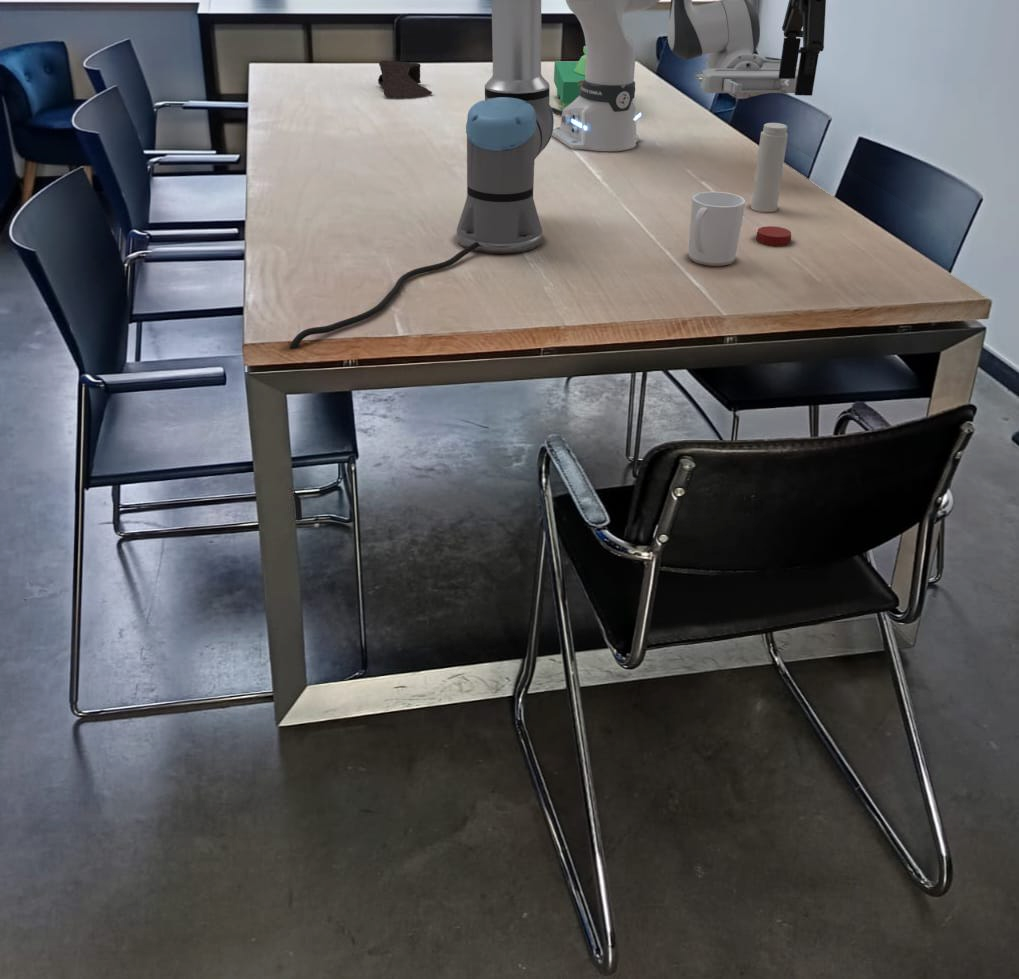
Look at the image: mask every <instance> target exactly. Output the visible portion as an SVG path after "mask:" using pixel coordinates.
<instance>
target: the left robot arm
mask: <svg viewBox="0 0 1019 979" xmlns="http://www.w3.org/2000/svg"><path fill="white" fill-rule="evenodd" d="M786 7H787V8H786V11H785V15H784V20H783V24H782V26H781V30H782V32H783V43H782V50H781V57H780V59H781V63H780V70H779V77H778V78H782V79H795V74H796V69H797V68H798V69H797V70H798V75H797V82H796V88H795V93H794V95H795V96H804V97H805V96H810V97H812V96H813V92H814V85H815V79H816V74H817V67H818V61H819V55H820V53H821V52H824V49H825V29H826V28H825V27H826V7H827V0H788V4H787V6H786ZM491 36H492V37H491V42H492V43H491V44H492V47H491V48H492V75H491V77H490V78H489V79H488V81H486V83H485V84H484V100H480V101H477V102H475V103H474V104H473V105H472V106H471V107H470V108H469V109H468V111H467V119H466V123H465V130H466V131H465V133H466V192H467V193H466V198H465V202H464V205H463V209H462V211H461V214H460V218H459V220H458V224H457V227H456V241H457V243H458V244H459V245H461V246H462V247H464V249H462V250H460V251H459V252H458V253H456V254H455V255H454V256H452V257H451V258H449V259H447V260H445V261H442V262H438V263H434V264H431V265H426V266H422V267H421V266H420V267H417V268H414V269H412V270H409V271H407V272H406V273H403V274H402V275H401V276H400V277H399V278H398V279H397V281H396V283H395V284H394V286H393V288H392V289H390V291H389V292H388V293H387V294H386V295H385V297H383V299H382V300H381V301H380V302H379V303H378V304H377V305H375V306H374V307H372V308H371V309H369V310H367V311H365V312H362V313H360V314H357V315H355V316H352V317H349V318H346V319H343V320H339V321H337V322H334V323H332V324H328V325H323V326H315V327H309V328H306V329H304V330H302V331H300V332H299V333H298V334H296V336H294V338H293V339H292V341H291V342H290V344H289V347H288V349H290V350H294V349H297V348H298V346H299V344H300V343H301V342H302V341H303V340H304V339H305V338H306V337H309V336H313V335H320V334H328V333H331V332H334V331H336V330H340V329H342V328H345V327H348V326H351V325H354V324H358V323H360V322H362V321H365V320H367V319H369V318H371V317H373V316H374V315H376V314H378V313H379V312H381V311H382V310H383V309H385V308H386V307H387V305H389V304H390V302H391V301H392V300H393V298H395V296H396V295H397V294H398V293H399V291H400V290H401V288H402V286H403V285H404V283H405V282H406V281H408V280H409V279H411V278H412V277H415V276H417V275H421V274H425V273H429V272H430V273H431V272H434V271H439V270H442V269H445V268H447V267H450V266H452V265H454V264H456V263H457V262H458V261H459V260H461V259H462V258H463V257H465V256H467V255H468V254H469V253H471V252H472V251H475V252H479V253H486V254H497V255H499V254H500V255H506V254H507V255H508V254H517V253H524V252H527V251H530V250H533V249H536V248H538V247H539V246H540V245H541V244H542V243H543V229H542V224H541V221H540V220H541V219H540V218H539V214H538V213H539V212H538V210H537V206H536V204H535V199H534V183H535V181H534V180H535V160H536V159H537V158H538V157H539V155H540V154H541V153H542V152H543V151H544V149H546V147H547V146H548V144H549V143H550V141H551V138H552V132H553V129H554V128H555V126H554V124H555V121H554V118H555V117H554V112H552V109H551V107H552V106H551V103H550V83H549V81H547V79H545V77H543V75H542V0H491ZM801 38H802V46H801ZM799 54H800V56H799ZM798 60H799V61H798ZM292 491H293V500H294V511H295V521H298V522H300V521H302V520H303V511H302V510H303V509H302V498H301V497H300V496H299V495H298V493H297V492H296V491H295V489H293V490H292Z"/></svg>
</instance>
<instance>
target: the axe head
mask: <svg viewBox="0 0 1019 979" xmlns="http://www.w3.org/2000/svg"><path fill="white" fill-rule="evenodd" d="M378 66H379V68H380V72H381V74H379V75H378V79H377V84H378V85H379V86H380V87H381V88H382V89H383V95H384V96H385V97H388V98H394V99H395V98H396V99H403V98H405V99H406V98H407V99H411V98H418V97H425V96H429V95H432V94H433V91H431V90H430V89H428V88H427V87H425V86H422V85H421V84H422V82H421V63H419V62H410V61H408V62H407V61H397V60H388V59H387V60H380V61H379V62H378Z"/></svg>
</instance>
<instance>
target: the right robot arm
mask: <svg viewBox="0 0 1019 979" xmlns="http://www.w3.org/2000/svg"><path fill="white" fill-rule="evenodd" d="M660 1H661V0H565V2H566V5H567V8H568V9H569V10H570V11H571V12H572V13H573V14H574V15H575V17H576V18H577V20H578V21H579V23H580V26H581V29H582V31H583V37H584V43H585V46H586V70H585V79H584V80H583V81H578V82H583V83H582V84H579V85H578V86H581V90H580V93H579V95H580V96H579V97H577V98H576V99H575V100H574V101H573V102H572V103H571V104H569V105H568V106H567V107H566V108H564V110H563V111H562V109H558V108H555V107H553V106H551V109H552V112H553V113H556V114H557V115H560V116H561V118H560V126H559V127H554V128H553V132H552V135H551V137H554V138H555V139H556V140H558V141H559V142H561V143H562V144H564V145H565V146H567V147H569V149H574V150H588V151H597V152H619V151H627V150H631V149H634V148H635V147H637V143H638V142H639V141H640V135H639V134H637V120H638V119H639V118H640V117H642V112H639V113H638V114H637V105H636V104H635V103H634V101H633V100H634V99H635V94H636V81H635V67H636V53H637V47H636V44H635V42H634V40H633V39H632V38H630V37H629V36H628V35H627V34H626V31H625V28H624V23H623V15H629V14H637V13H641V12H644V11H645V10H648V9H650V8H652V7H654V6H656V5H658V4H659V2H660ZM760 27H761V25H760V19H759V15H758V12H757V10H756V8H755V7H754V6H753V4H752V3H751V2H750V1H749V0H719V1H715V2H709V3H704V4H700V5H694V4H693V0H670V7H669V17H668V24H667V43H668V46H669V50H670V52H672V53H673V54H674V55H675V56H677V57H679V58H680V59H682V60H685V61H689V60H692V59H695V58H699V57H702V56H703V55H707V54H708V55H707V57H706V68H704V69H703V70H702V72H701V73H697V74H696V75H695V76H694V77H695V80H696V81H697V82H701V83H700V89H701V90H702V91H703V92H704V93H707V94H729V95H730V96H731V97H733V98H735V99H739V100H743V99H749V98H751V97H756V96H757V97H758V96H760V95H768V94H795V88H796V82H797V75H798V69H797V68H796V74H795V79H782V78H778V77H779V70H780V63H781V58H779V57H769V56H763V55H760V54H757V53H755V52H756V50H757V49H758V47H759V43H760V39H761V28H760Z"/></svg>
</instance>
